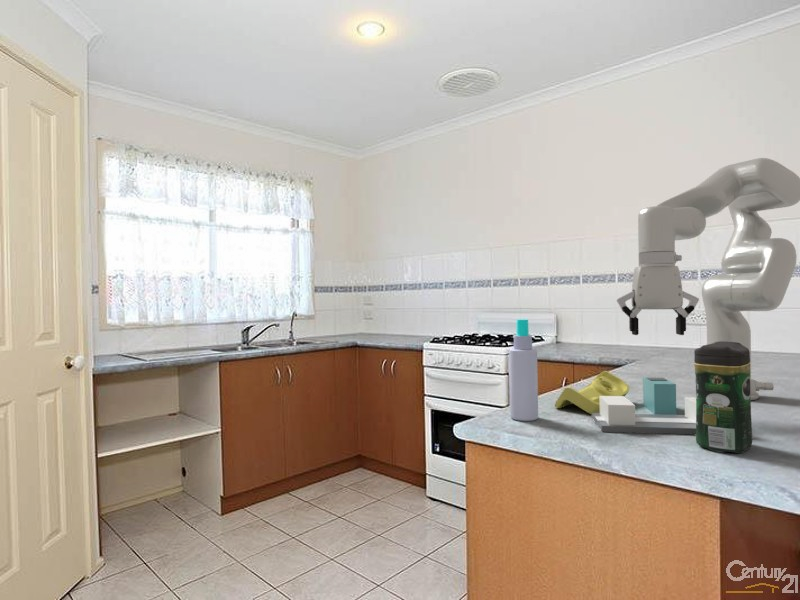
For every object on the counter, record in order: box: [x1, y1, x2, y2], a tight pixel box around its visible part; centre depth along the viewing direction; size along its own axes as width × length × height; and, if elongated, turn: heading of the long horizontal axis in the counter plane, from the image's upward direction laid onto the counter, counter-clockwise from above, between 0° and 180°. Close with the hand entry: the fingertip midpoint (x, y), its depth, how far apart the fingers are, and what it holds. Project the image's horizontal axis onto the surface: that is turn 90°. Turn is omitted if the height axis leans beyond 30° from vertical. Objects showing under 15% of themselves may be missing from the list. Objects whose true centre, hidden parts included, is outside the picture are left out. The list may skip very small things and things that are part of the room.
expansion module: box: [642, 376, 677, 415], centre depth 117 cm, size 4×9×7 cm, turn 169°
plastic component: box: [554, 370, 630, 415], centre depth 123 cm, size 20×7×10 cm
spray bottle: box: [508, 318, 539, 422], centre depth 112 cm, size 6×6×22 cm
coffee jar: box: [693, 341, 753, 454], centre depth 89 cm, size 10×8×19 cm
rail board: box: [591, 396, 696, 435], centre depth 103 cm, size 25×11×5 cm, turn 79°
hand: (657, 334), depth 117 cm, fingers open, 9 cm apart
